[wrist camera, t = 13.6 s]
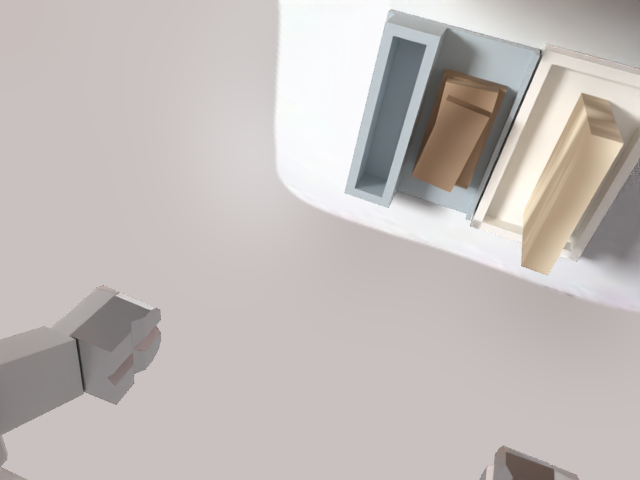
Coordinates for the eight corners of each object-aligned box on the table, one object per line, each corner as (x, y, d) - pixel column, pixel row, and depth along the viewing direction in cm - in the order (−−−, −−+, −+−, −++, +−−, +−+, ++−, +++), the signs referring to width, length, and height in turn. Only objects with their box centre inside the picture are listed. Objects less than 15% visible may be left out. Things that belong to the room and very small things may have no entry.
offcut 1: (507, 86, 41) (506, 90, 40) (468, 183, 47) (466, 189, 46) (446, 68, 42) (443, 72, 41) (414, 165, 47) (412, 171, 46)
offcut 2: (490, 112, 40) (489, 117, 39) (452, 185, 44) (450, 192, 43) (448, 94, 41) (446, 99, 40) (414, 169, 45) (411, 175, 44)
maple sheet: (608, 100, 40) (623, 143, 33) (545, 217, 46) (547, 275, 39) (581, 92, 40) (591, 134, 33) (523, 210, 47) (521, 266, 39)
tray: (676, 78, 38) (682, 87, 36) (575, 249, 48) (576, 261, 46) (545, 43, 40) (545, 49, 38) (472, 215, 49) (470, 226, 47)
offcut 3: (499, 88, 40) (498, 93, 39) (470, 179, 45) (469, 185, 44) (448, 77, 41) (445, 82, 40) (425, 167, 46) (422, 173, 45)
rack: (539, 49, 40) (540, 64, 36) (472, 210, 49) (467, 234, 45) (391, 9, 42) (377, 19, 38) (352, 170, 51) (338, 190, 47)
